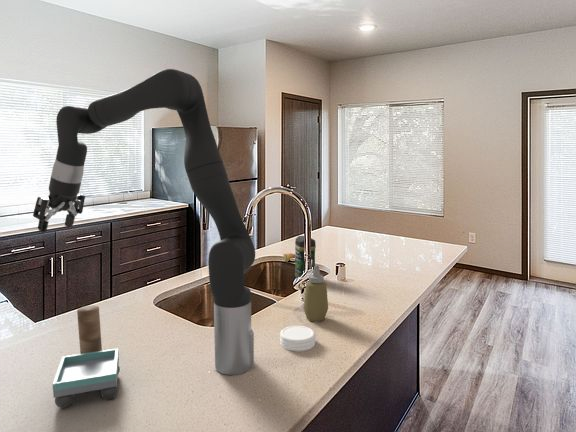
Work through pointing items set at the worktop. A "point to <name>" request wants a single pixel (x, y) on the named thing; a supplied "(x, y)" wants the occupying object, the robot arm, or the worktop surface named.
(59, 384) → the wheeled cart
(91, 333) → the cylinder
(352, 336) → the worktop surface
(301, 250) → the coffee jar
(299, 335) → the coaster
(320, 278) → the squeeze bottle
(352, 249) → the worktop surface
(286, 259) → the pastry
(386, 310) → the worktop surface
